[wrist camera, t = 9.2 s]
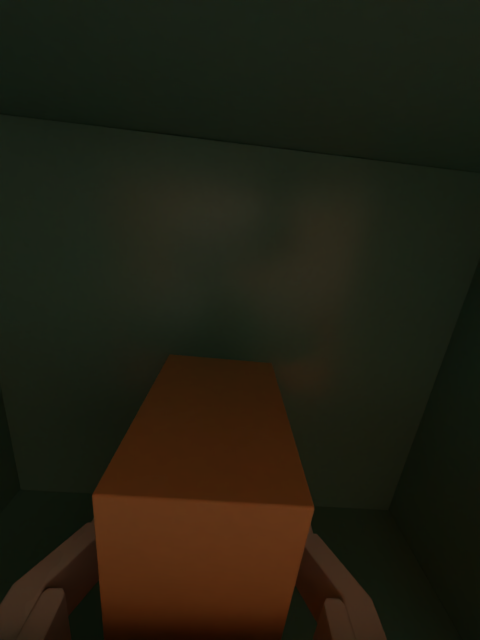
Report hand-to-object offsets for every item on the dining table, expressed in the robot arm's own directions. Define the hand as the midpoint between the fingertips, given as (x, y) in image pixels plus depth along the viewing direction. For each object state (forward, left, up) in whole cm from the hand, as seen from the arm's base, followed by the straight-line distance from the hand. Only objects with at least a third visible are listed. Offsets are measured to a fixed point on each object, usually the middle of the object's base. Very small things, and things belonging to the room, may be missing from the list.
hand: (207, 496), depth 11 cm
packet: (0, -1, -7) cm, 7 cm away
